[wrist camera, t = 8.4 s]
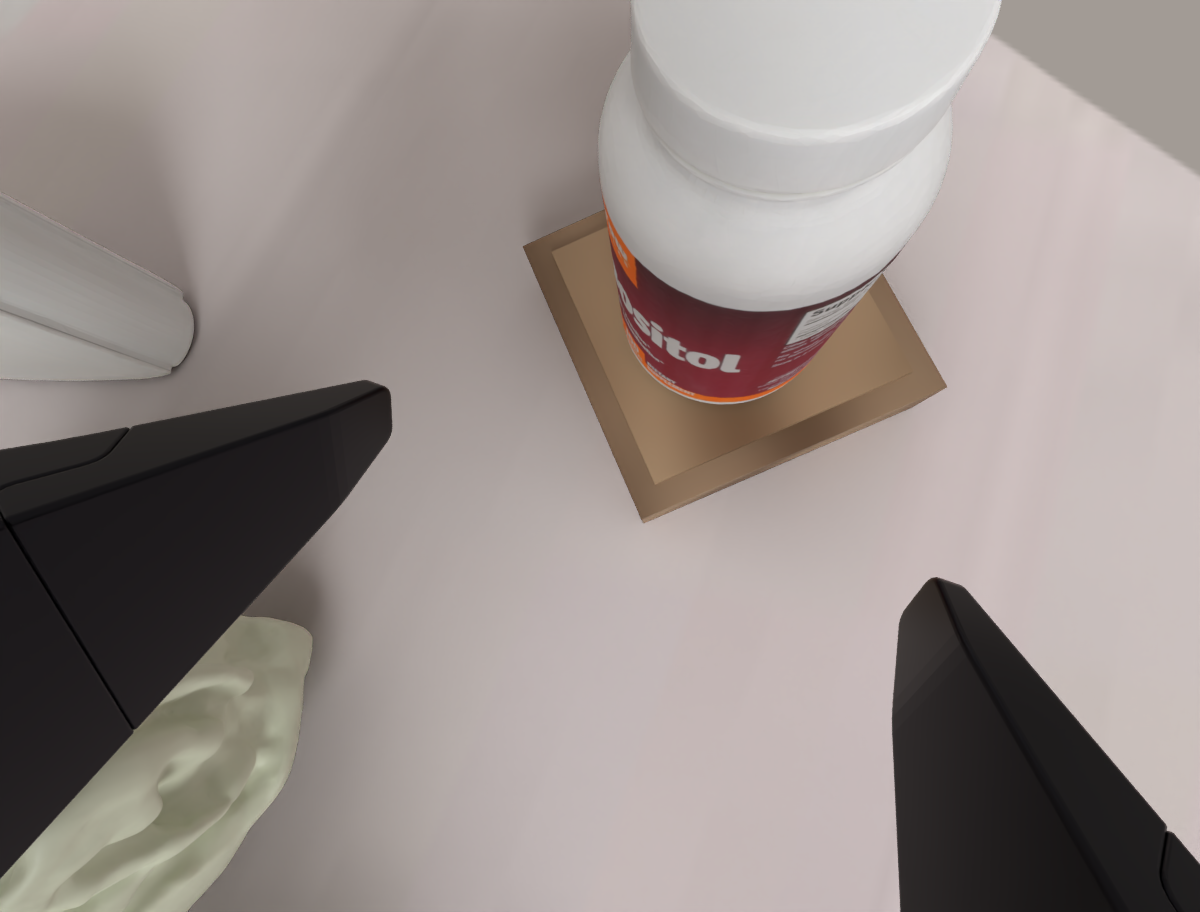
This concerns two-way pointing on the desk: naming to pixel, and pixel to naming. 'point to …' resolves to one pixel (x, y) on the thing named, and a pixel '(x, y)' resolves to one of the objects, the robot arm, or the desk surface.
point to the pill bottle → (771, 172)
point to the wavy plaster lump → (177, 785)
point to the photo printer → (81, 307)
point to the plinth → (719, 431)
